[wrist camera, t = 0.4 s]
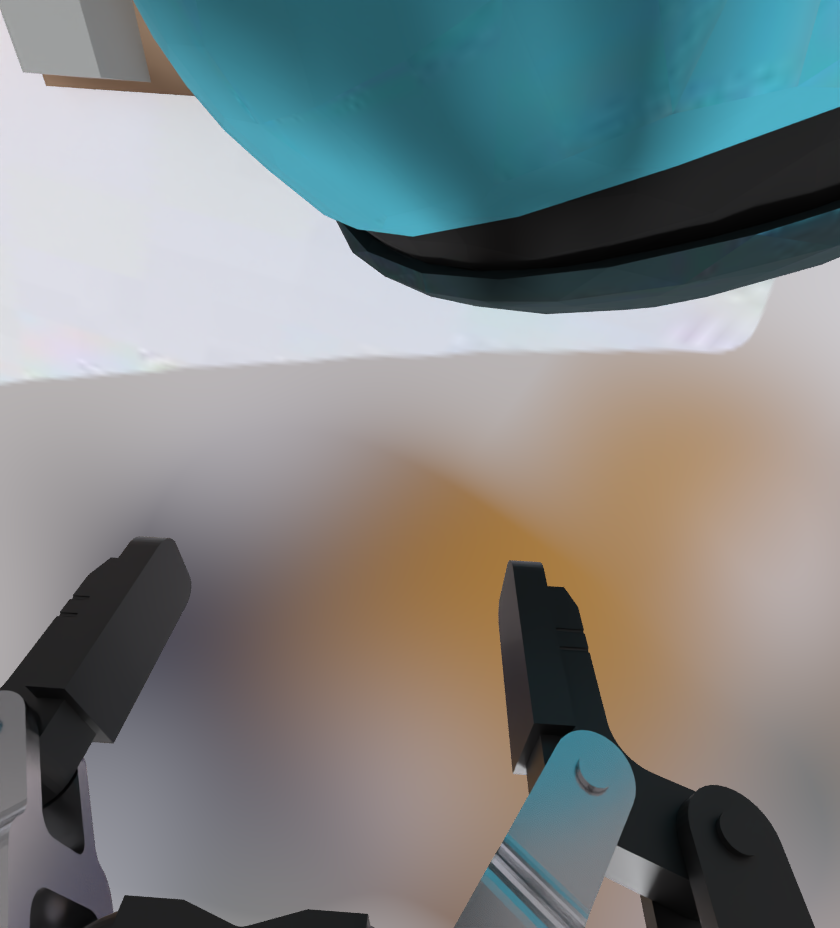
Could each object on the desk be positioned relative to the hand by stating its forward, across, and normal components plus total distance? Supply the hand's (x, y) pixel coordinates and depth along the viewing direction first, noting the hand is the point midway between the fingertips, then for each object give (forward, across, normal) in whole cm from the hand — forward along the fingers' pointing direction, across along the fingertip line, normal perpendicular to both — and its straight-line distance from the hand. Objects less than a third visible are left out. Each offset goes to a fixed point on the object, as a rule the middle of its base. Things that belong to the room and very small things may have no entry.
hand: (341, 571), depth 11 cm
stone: (+28, +18, -12) cm, 35 cm away
